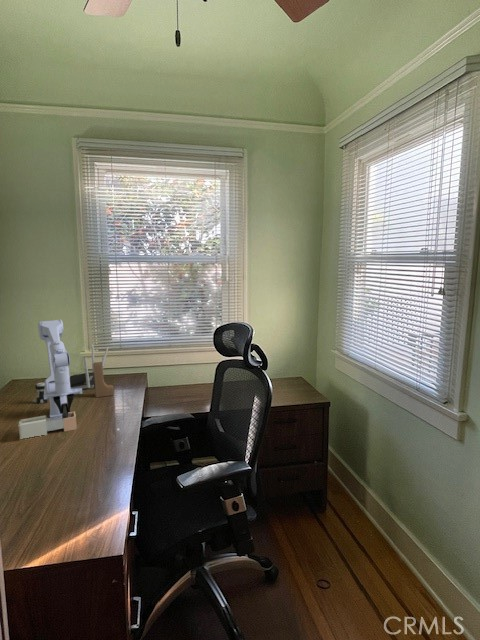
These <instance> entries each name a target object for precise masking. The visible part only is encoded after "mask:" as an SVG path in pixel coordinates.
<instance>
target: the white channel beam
mask: <svg viewBox="0 0 480 640" xmlns="http://www.w3.org/2000/svg"><path fill="white" fill-rule="evenodd" d="M46 419H47V415H40V416H34V417H29V418H23V419H19V422H18V432H19V433H18V434H19V440H20V439H23V438H29V437H34V436H40V437H42V436H41V435H45V436H48V431H47V429H46Z"/></svg>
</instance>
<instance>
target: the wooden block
mask: <svg viewBox="0 0 480 640" xmlns="http://www.w3.org/2000/svg"><path fill="white" fill-rule="evenodd" d="M93 369H94V383H95V385H94V397H95V398H103V397H110V396H114V385H113V384H107V383H106V381H105V380H104V367H103V363H102V361H99V362H98V361H96V362H95V363H93Z"/></svg>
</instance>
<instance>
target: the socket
mask: <svg viewBox="0 0 480 640" xmlns="http://www.w3.org/2000/svg"><path fill="white" fill-rule="evenodd" d="M69 414H70V415H71V417H68V418H63V422H64V428H63V432H69V431H75V430H77V429H78V428H77V427H78V425H77V415H76V411H70V412H69V413H68V415H69Z"/></svg>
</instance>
